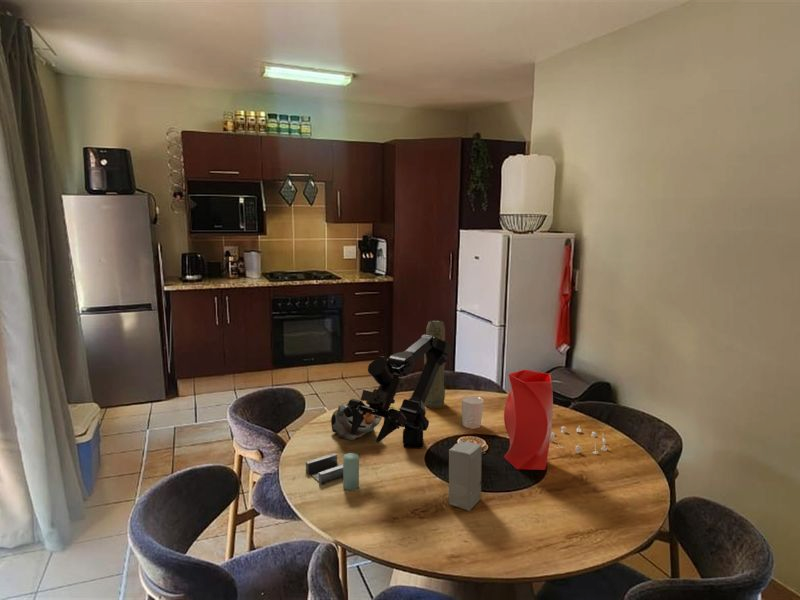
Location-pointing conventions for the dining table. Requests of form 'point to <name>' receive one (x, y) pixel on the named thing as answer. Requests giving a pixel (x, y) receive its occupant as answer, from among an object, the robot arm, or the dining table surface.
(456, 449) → the skincare box
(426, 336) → the robot arm
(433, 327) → the grey green tall pillar
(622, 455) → the dining table surface
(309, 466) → the rail dock
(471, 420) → the white cup
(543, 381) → the vase
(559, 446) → the game piece set
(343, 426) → the lucky cat figurine
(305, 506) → the dining table surface
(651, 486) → the dining table surface
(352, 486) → the teal peg
